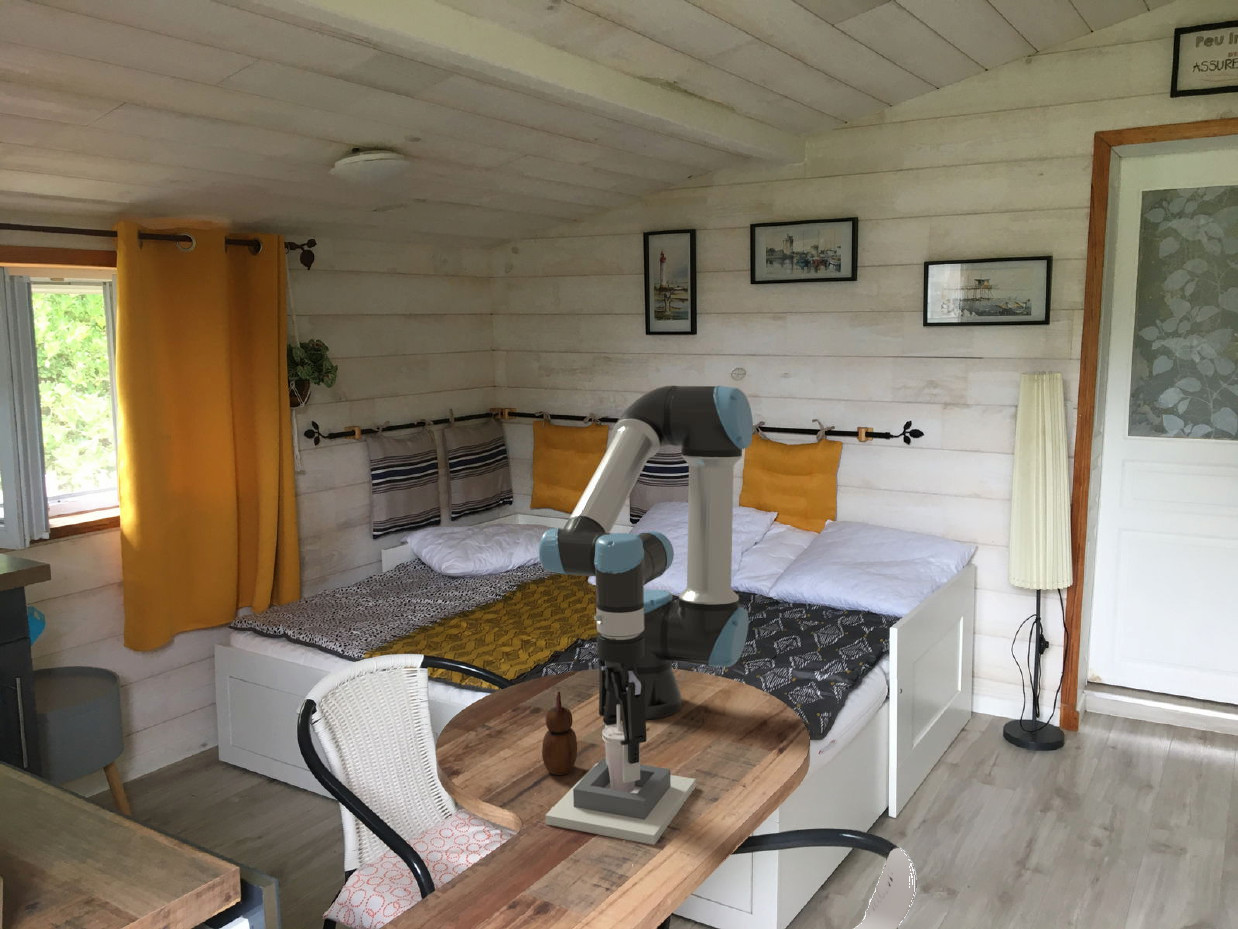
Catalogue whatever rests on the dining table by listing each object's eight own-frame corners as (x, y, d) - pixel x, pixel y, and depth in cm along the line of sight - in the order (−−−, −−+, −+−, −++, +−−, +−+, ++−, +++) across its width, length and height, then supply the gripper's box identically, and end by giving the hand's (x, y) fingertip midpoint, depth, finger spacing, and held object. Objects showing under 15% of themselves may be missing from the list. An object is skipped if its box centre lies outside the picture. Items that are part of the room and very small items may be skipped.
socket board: (596, 771, 178) (596, 746, 177) (695, 787, 171) (695, 762, 170) (545, 824, 159) (544, 797, 159) (654, 845, 153) (653, 816, 152)
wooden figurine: (571, 780, 174) (569, 696, 172) (539, 778, 175) (536, 694, 173) (581, 763, 181) (579, 682, 179) (549, 761, 182) (547, 680, 180)
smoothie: (612, 776, 169) (610, 695, 167) (648, 783, 166) (647, 701, 164) (596, 793, 163) (595, 710, 161) (633, 800, 161) (632, 715, 159)
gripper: (576, 619, 168) (579, 752, 172) (622, 654, 151) (624, 801, 154) (618, 613, 171) (620, 744, 175) (668, 647, 154) (669, 792, 157)
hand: (622, 771), depth 164 cm, fingers closed on smoothie, 6 cm apart
